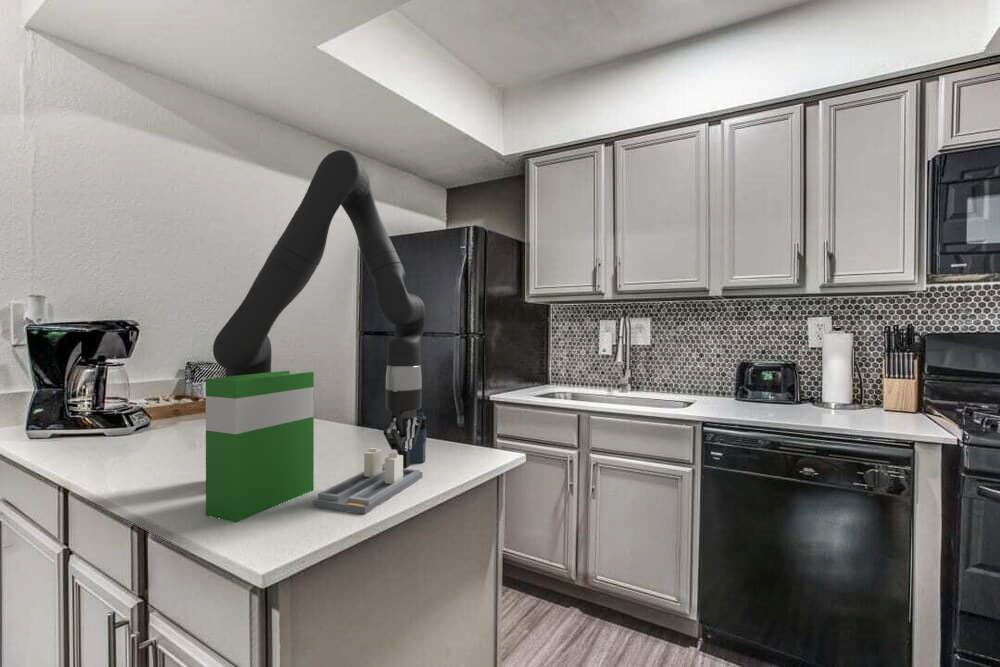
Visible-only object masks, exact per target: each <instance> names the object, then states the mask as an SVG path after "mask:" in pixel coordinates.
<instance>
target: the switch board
mask: <svg viewBox="0 0 1000 667" xmlns="http://www.w3.org/2000/svg"><path fill="white" fill-rule="evenodd" d="M422 477H424V476H423V472H422V471H421V469H413V468H406V469H403V478H402V479H400V480H398V481H397V482H395V483H393V484H387V483H385V465H384V466H383V465H382V472H380V473H378V474H376V475H374V476H372V477H365V476H364V471H362V472H360V473H358V474H356V475H353V476H352V477H349V478H347V479H345V480H343V481H342V482H340V483H338V484H335V485H334V486H332V487H329V488H327V489H324V490H323V491H320V493H318V494H317V498H315V499H313V508H319V509H327V510H333V509H334V510H333V511H339V510H342V512H346V511H350V512H349V513H353V512H357V513H356V514H360V513H363V514H362V515H366V514H368V513H369V512H371V511H372V509H373V508H374V509H375V507H376V506H377V507H379V506H380V505H382V504H383V502H384V501H385V502H387V501H389V500H390V499H392V498H393V497H394V495H395V494H396V495H398V494H399V493H400V491H401V492H403V491H404V490H406V489H407V488H408V486H409V487H410V486H412V485H413V484H415V483H416V481H417V480H418V481H420V480H421V479H422ZM420 478H421V479H420ZM419 479H420V480H419ZM418 481H417V482H418ZM414 482H415V483H414ZM411 484H412V485H411ZM406 487H407V488H406ZM405 488H406V489H405ZM403 489H404V490H403ZM397 493H398V494H397ZM396 495H395V496H396ZM392 496H393V497H392ZM389 498H390V499H389ZM386 500H387V501H386ZM385 502H384V503H385ZM381 503H382V504H381ZM378 505H379V506H378ZM377 507H376V508H377ZM374 509H373V510H374ZM370 510H371V511H370ZM367 512H368V513H367Z"/></svg>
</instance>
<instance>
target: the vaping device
mask: <svg viewBox="0 0 1000 667" xmlns="http://www.w3.org/2000/svg"><path fill="white" fill-rule="evenodd" d="M416 418H417V419H421V420H422V424H421V427H420V430H419V433H418V437H417V440H416V443H415V444H412V448H411V449H410V464H412V463H414V464H424V463H425V462H426V442H427V416H425V415H424V412H419V413H418V415H417V416H416Z"/></svg>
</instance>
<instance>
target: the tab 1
mask: <svg viewBox="0 0 1000 667" xmlns="http://www.w3.org/2000/svg"><path fill="white" fill-rule="evenodd" d="M363 457H364V458H363V459H364V460H363V462H364V463H363V472H364V476H365V477H372V476H374V475H376V474H378V473H380V472H382V466H383V449H380V448H379V449H378V447H377V448H376V447H369V448H368V450H367V451H365V452H364V454H363Z"/></svg>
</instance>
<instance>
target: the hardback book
mask: <svg viewBox="0 0 1000 667" xmlns="http://www.w3.org/2000/svg"><path fill="white" fill-rule="evenodd" d="M314 373H315V372H314V371H308V372H307V371H306V372H298V373H290V370H280V371H279V370H278V371H271V372H269V373H259V374H249V375H239V376H229V377H225V376H222V377H221V376H220V377H219V376H218V377H213V378H212V377H211V378H209V377H208V378H205V516H206V515H207V516H206V517H209V516H212V517H211V518H213V517H216V518H215V519H218V518H220V519H219V520H222V519H223V521H226V520H227V522H232V523H238V522H241V521H244V520H245V519H248V518H250V517H253V516H256V515H257V514H260V513H262V512H266V511H267V510H270V509H273V508H274V507H278V506H279V504H280V505H282V504H284V502H285V503H287V502H289V501H291V499H292V500H293V498H294V499H296V497H297V498H299V497H302V496H303V494H304V495H306V494H309V493H311V492H313V490H314V489H315V488H314V485H315V483H314V482H315V481H314V480H315V479H314V478H315V477H314V476H315V475H314V469H315V468H314V467H315V466H314V464H315V463H314V461H315V460H314V452H315V450H314V447H315V446H314V444H315V443H314V442H315V441H314V440H315V439H314V438H315V437H314V434H315V433H314V428H315V427H314V422H315V421H314V420H315V419H314V418H315V416H314V415H315V414H314V412H315V411H314V410H315V407H314V405H315V404H314V399H315V398H314V394H315V393H314V392H315V391H314V390H315V387H314V386H315V384H314V383H315V381H314V379H315V376H314V375H315V374H314ZM310 491H311V492H310ZM314 491H315V490H314ZM308 492H309V493H308ZM305 493H306V494H305ZM298 496H299V497H298ZM288 500H289V501H288ZM286 501H287V502H286ZM281 503H282V504H281ZM272 507H273V508H272Z"/></svg>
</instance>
